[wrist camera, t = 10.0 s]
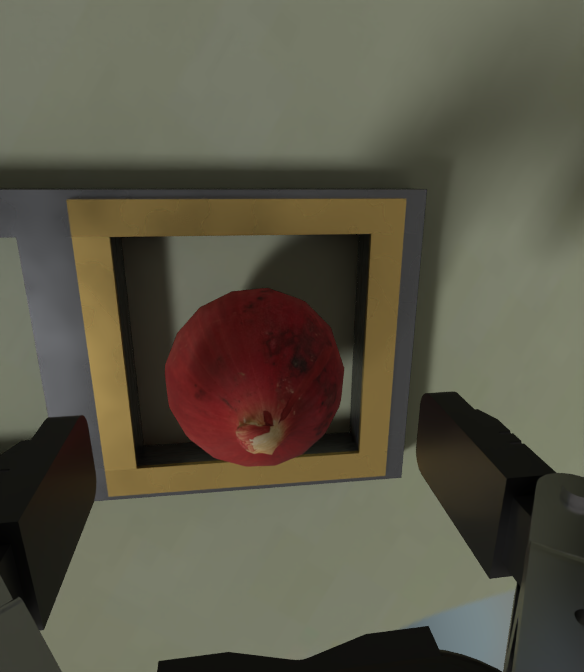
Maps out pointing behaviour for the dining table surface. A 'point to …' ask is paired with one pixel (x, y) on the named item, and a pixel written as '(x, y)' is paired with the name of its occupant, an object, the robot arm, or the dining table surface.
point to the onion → (254, 377)
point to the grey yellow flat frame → (116, 340)
